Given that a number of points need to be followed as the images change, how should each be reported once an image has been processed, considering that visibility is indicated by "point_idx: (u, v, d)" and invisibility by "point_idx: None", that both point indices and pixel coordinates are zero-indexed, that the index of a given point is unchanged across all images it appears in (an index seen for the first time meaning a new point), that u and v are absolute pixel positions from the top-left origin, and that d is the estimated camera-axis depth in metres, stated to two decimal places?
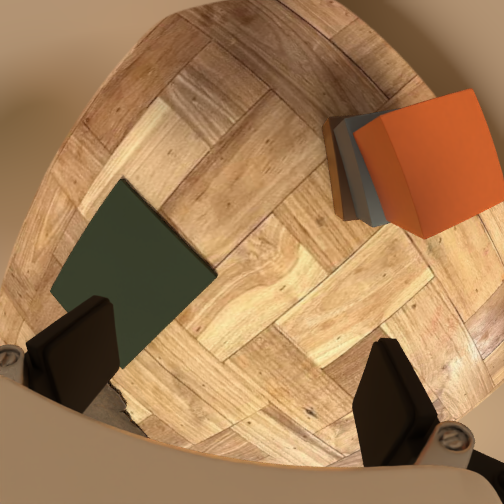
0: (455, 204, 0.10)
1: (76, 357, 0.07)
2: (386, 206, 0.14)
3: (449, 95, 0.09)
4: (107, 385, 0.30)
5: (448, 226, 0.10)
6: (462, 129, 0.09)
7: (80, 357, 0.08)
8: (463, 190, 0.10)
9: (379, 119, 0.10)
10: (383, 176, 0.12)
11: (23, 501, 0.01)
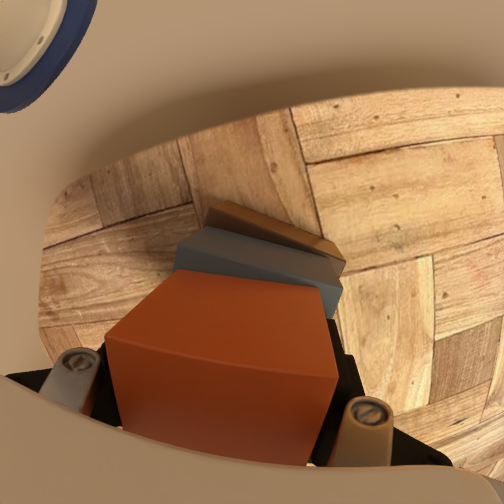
0: (275, 462, 0.06)
1: None
2: None
3: (114, 386, 0.06)
4: None
5: None
6: (169, 405, 0.06)
7: None
8: (263, 448, 0.06)
9: None
10: None
11: (23, 501, 0.01)
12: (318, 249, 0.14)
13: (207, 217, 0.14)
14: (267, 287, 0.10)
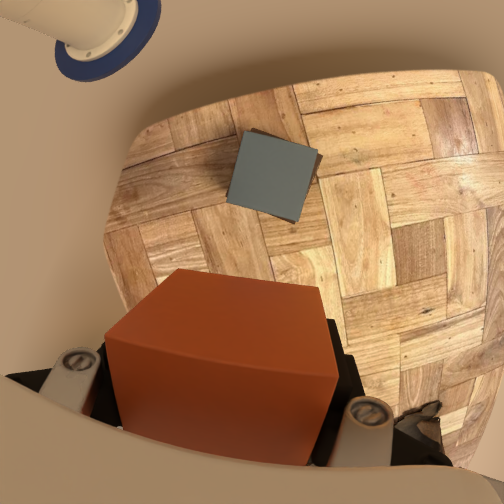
0: (275, 462, 0.06)
1: None
2: None
3: (114, 385, 0.06)
4: None
5: None
6: (168, 405, 0.06)
7: None
8: (264, 448, 0.06)
9: None
10: None
11: (23, 501, 0.01)
12: None
13: None
14: (267, 286, 0.10)
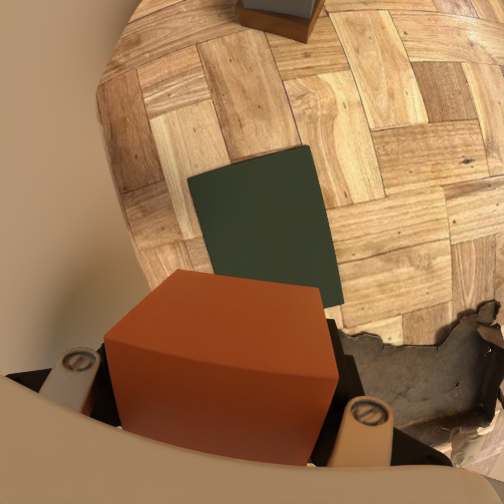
0: (275, 463, 0.06)
1: None
2: None
3: (113, 386, 0.06)
4: (350, 339, 0.31)
5: None
6: (168, 406, 0.06)
7: None
8: (263, 449, 0.06)
9: None
10: None
11: (23, 501, 0.01)
12: None
13: None
14: (267, 287, 0.10)
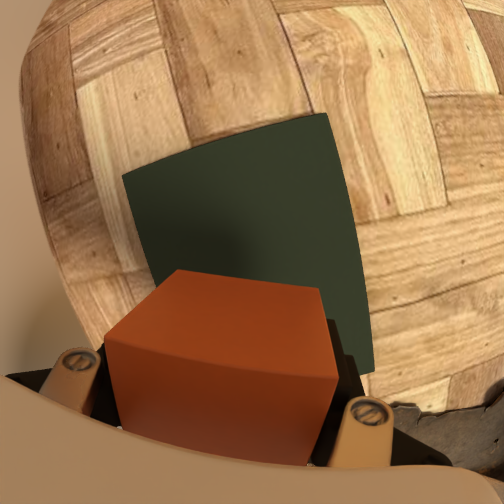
0: (275, 463, 0.06)
1: None
2: None
3: (113, 387, 0.06)
4: None
5: None
6: (168, 406, 0.06)
7: None
8: (263, 449, 0.06)
9: None
10: None
11: (23, 501, 0.01)
12: None
13: None
14: (267, 287, 0.10)
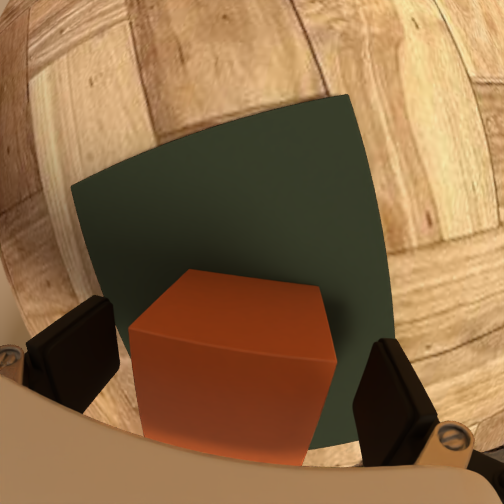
0: (280, 444, 0.07)
1: (76, 357, 0.07)
2: None
3: (134, 374, 0.07)
4: None
5: (301, 459, 0.07)
6: (185, 391, 0.07)
7: (80, 357, 0.08)
8: (270, 430, 0.07)
9: None
10: None
11: (23, 501, 0.01)
12: None
13: None
14: (272, 285, 0.11)
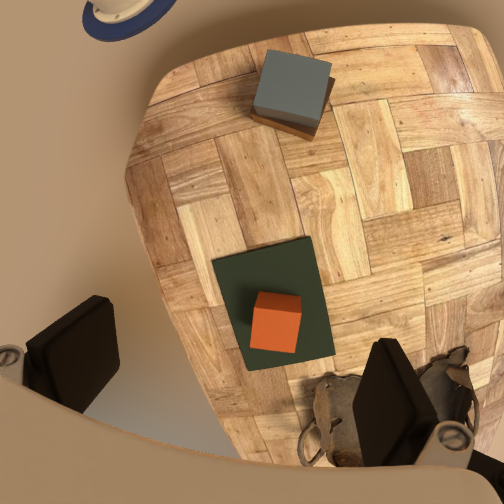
0: (289, 338, 0.32)
1: (76, 357, 0.07)
2: None
3: (253, 320, 0.32)
4: (340, 379, 0.38)
5: (295, 343, 0.32)
6: (266, 322, 0.32)
7: (80, 357, 0.08)
8: (286, 333, 0.32)
9: None
10: None
11: (23, 501, 0.01)
12: None
13: None
14: (286, 296, 0.35)
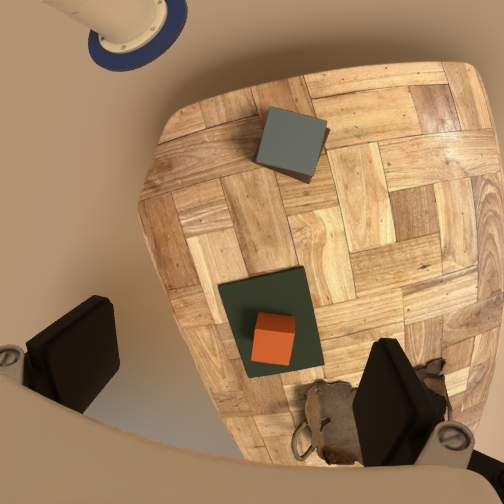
0: (284, 353, 0.37)
1: (76, 357, 0.07)
2: None
3: (254, 338, 0.37)
4: (329, 385, 0.44)
5: (289, 358, 0.37)
6: (265, 341, 0.37)
7: (80, 357, 0.08)
8: (282, 349, 0.37)
9: None
10: None
11: (23, 501, 0.01)
12: None
13: None
14: (281, 316, 0.41)
